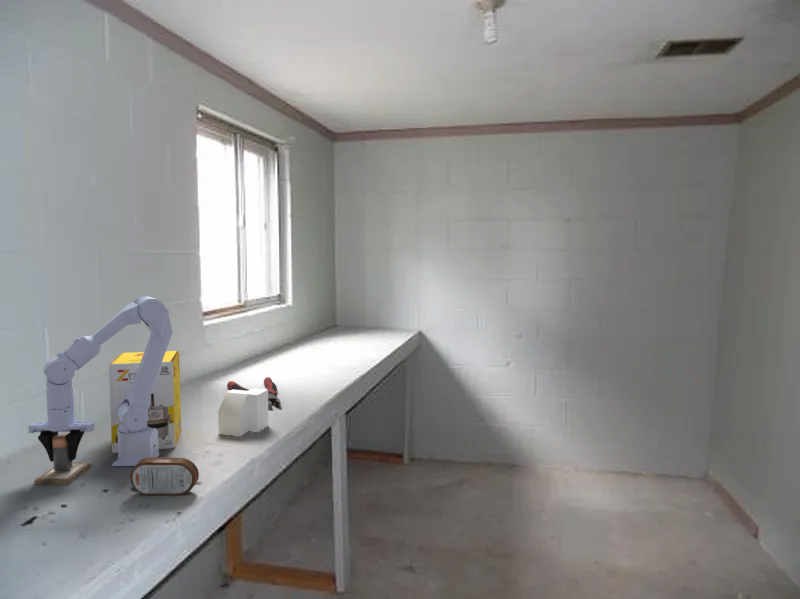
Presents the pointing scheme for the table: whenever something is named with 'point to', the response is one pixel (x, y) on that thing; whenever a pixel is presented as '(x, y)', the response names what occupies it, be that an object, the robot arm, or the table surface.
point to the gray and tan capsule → (60, 453)
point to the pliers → (270, 386)
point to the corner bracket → (243, 412)
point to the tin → (164, 476)
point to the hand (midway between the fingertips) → (63, 459)
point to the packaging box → (162, 398)
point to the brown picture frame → (62, 474)
